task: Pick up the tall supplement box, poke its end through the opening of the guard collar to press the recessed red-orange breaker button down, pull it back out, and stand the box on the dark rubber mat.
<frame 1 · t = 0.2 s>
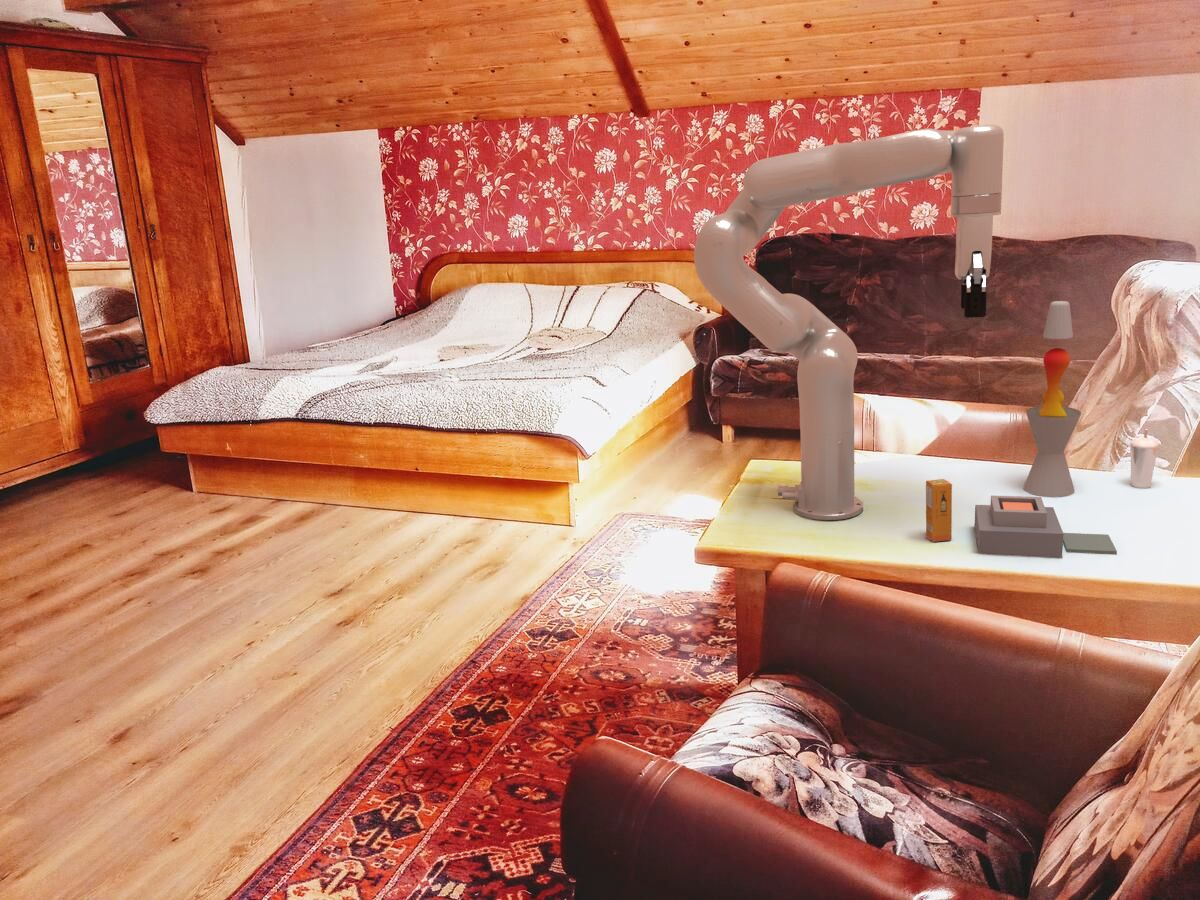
hand: (972, 312, 154), 36 cm above the table, tool pointing down, fingers open, 9 cm apart
rest mat: (1087, 544, 148), on the table
supplement box: (937, 539, 156), on the table
lava lamp: (1048, 490, 174), on the table
breaker button: (1017, 515, 150), point 4 cm above the table, slide at 0.0 cm
milkshake: (1140, 485, 172), on the table
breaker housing: (1016, 541, 152), on the table
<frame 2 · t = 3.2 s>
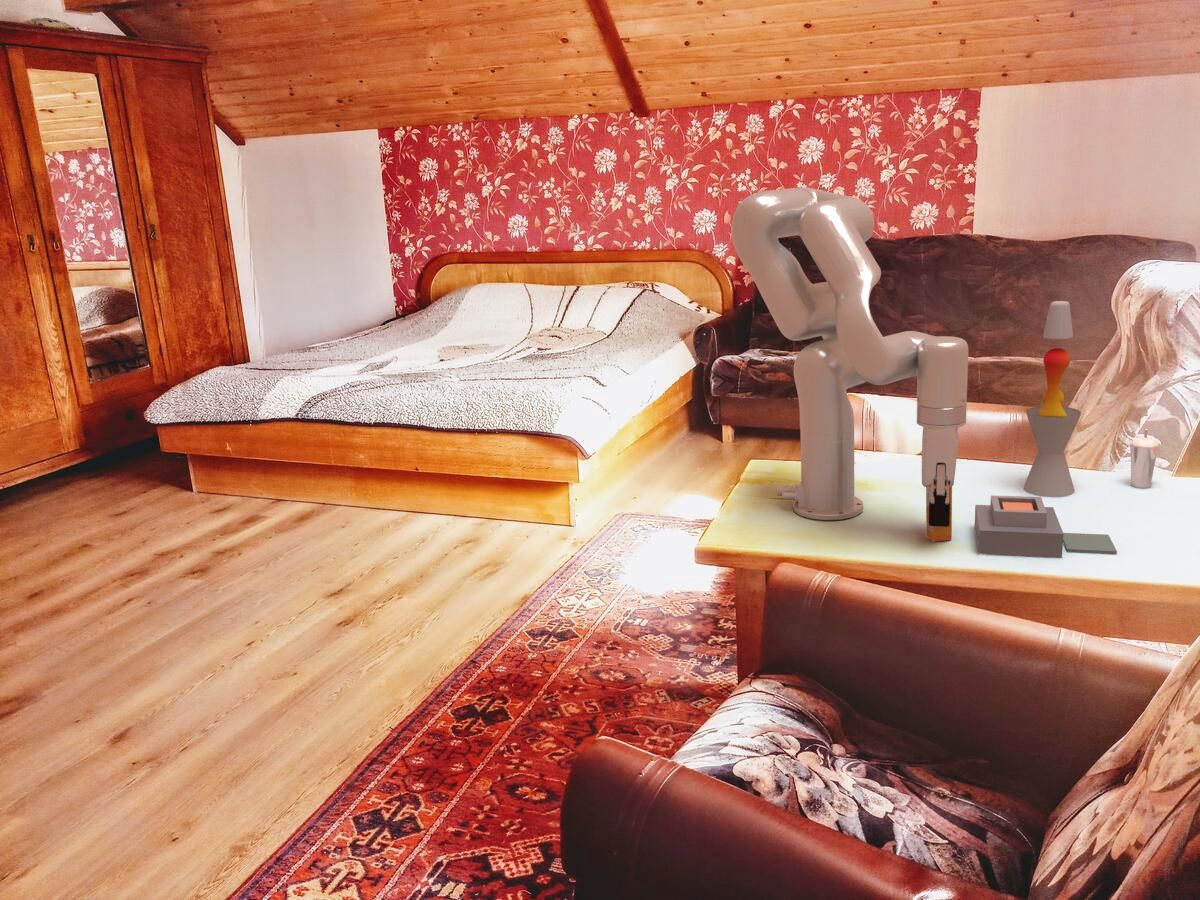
hand: (938, 519, 155), 3 cm above the table, tool pointing down, fingers closed on supplement box, 3 cm apart
supplement box: (938, 539, 156), on the table, touching gripper
everything else where it was.
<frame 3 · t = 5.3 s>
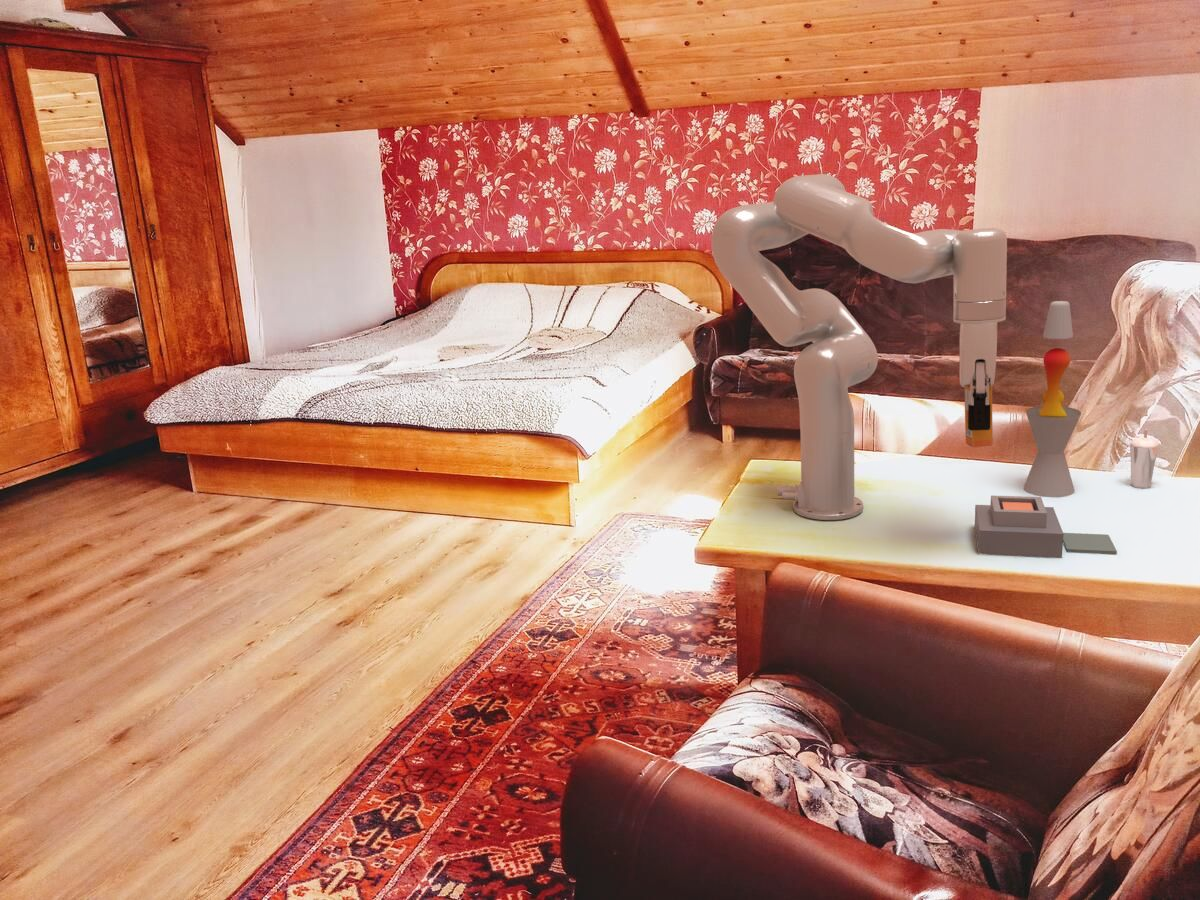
hand: (978, 424, 148), 20 cm above the table, tool pointing down, fingers closed on supplement box, 3 cm apart
supplement box: (978, 445, 149), point 16 cm above the table, touching gripper
everything else where it was.
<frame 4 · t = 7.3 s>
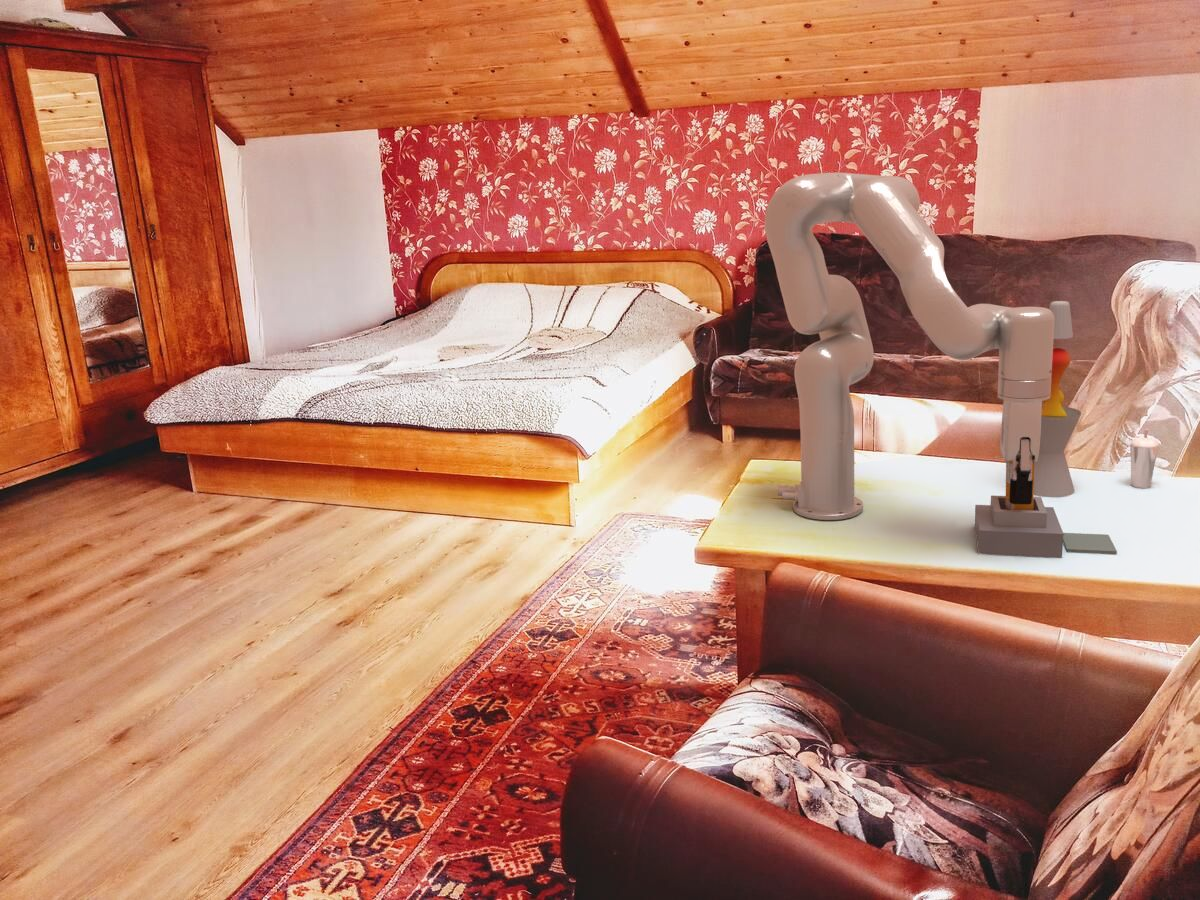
hand: (1018, 497, 149), 8 cm above the table, tool pointing down, fingers closed on supplement box, 3 cm apart
supplement box: (1018, 517, 150), point 4 cm above the table, touching breaker button, gripper
breaker button: (1016, 525, 151), point 3 cm above the table, slide at 1.7 cm, touching supplement box
everything else where it was.
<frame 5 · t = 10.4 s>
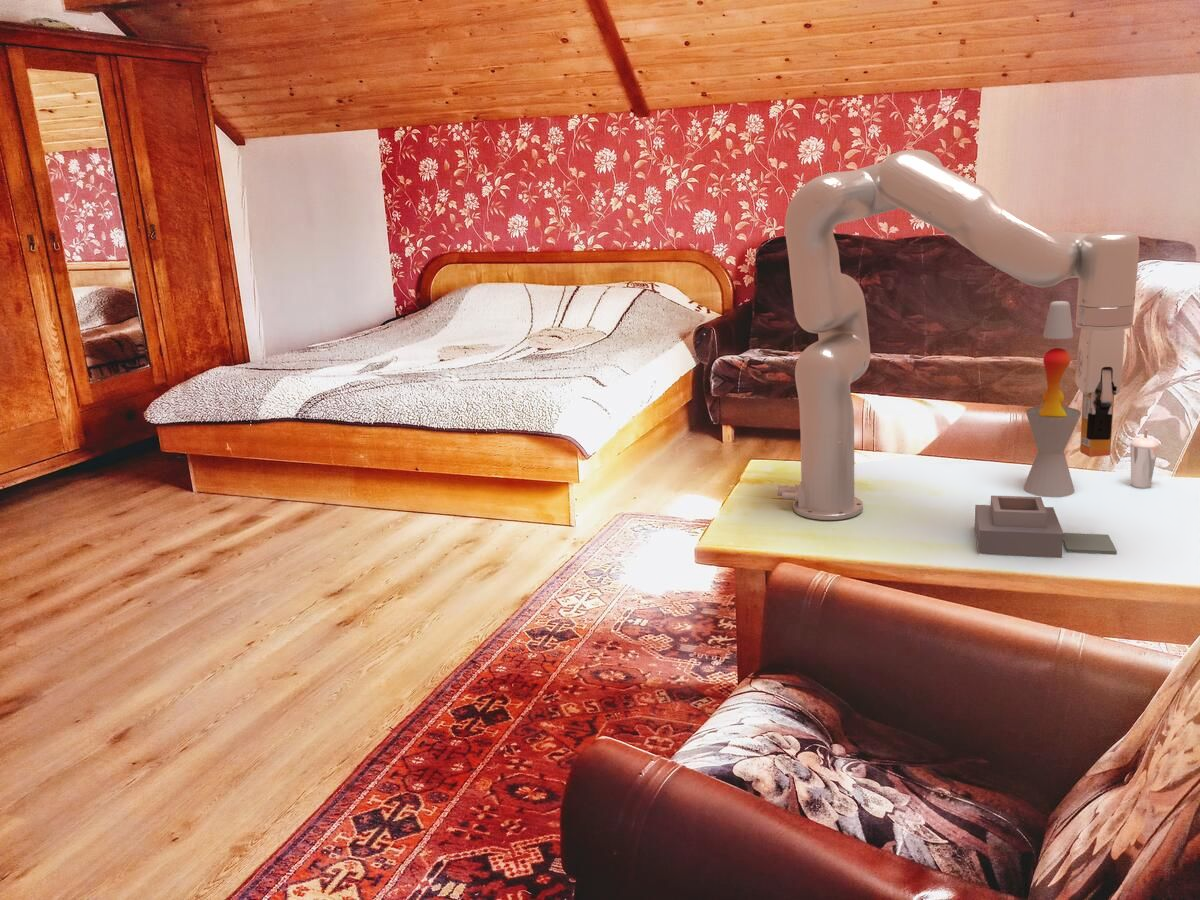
hand: (1095, 433, 143), 18 cm above the table, tool pointing down, fingers closed on supplement box, 3 cm apart
supplement box: (1093, 455, 144), point 15 cm above the table, touching gripper
breaker button: (1016, 525, 151), point 3 cm above the table, slide at 1.6 cm
everything else where it was.
when the fingers open (5 cm above the table, at t = 13.1 s): supplement box stays where it is, resting on rest mat.
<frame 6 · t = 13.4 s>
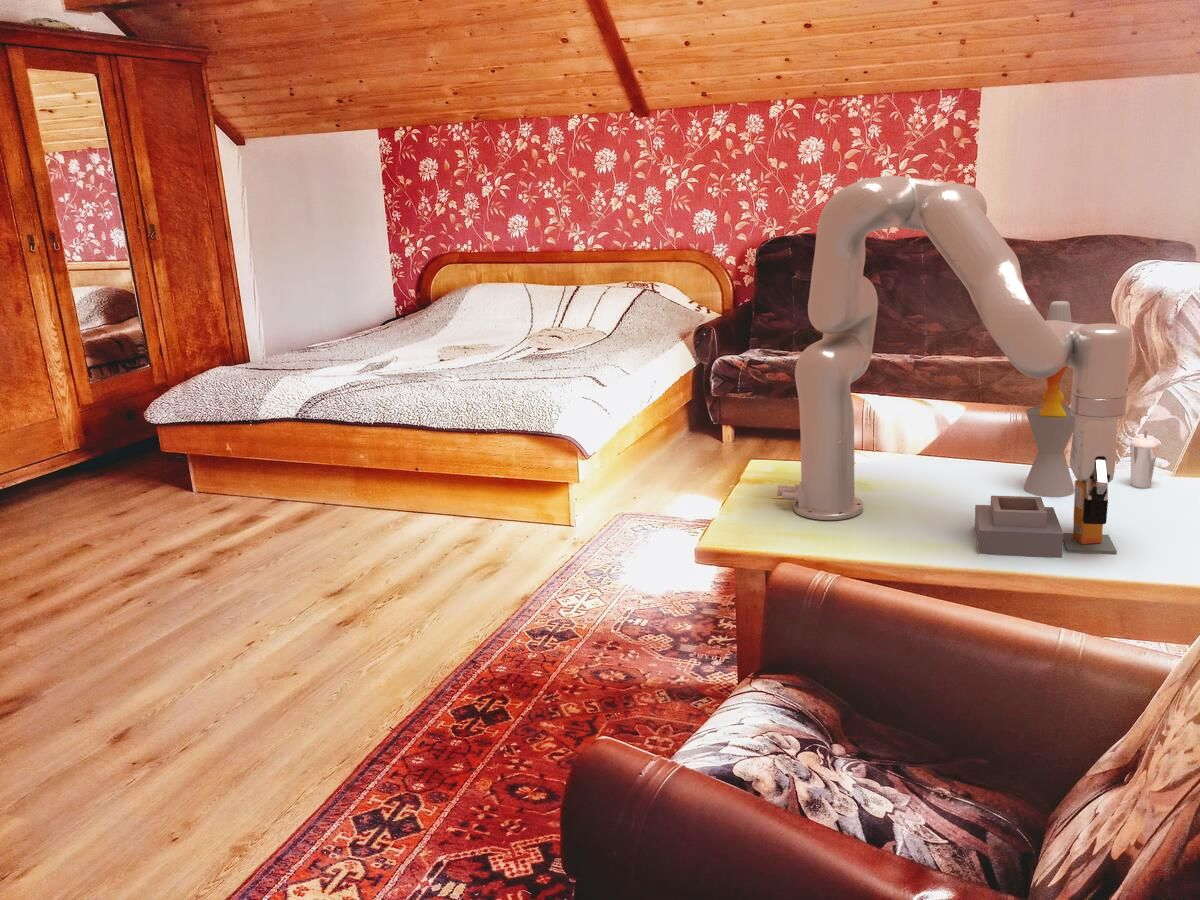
hand: (1090, 513, 147), 5 cm above the table, tool pointing down, fingers open, 7 cm apart
supplement box: (1086, 541, 149), resting on rest mat
everything else where it was.
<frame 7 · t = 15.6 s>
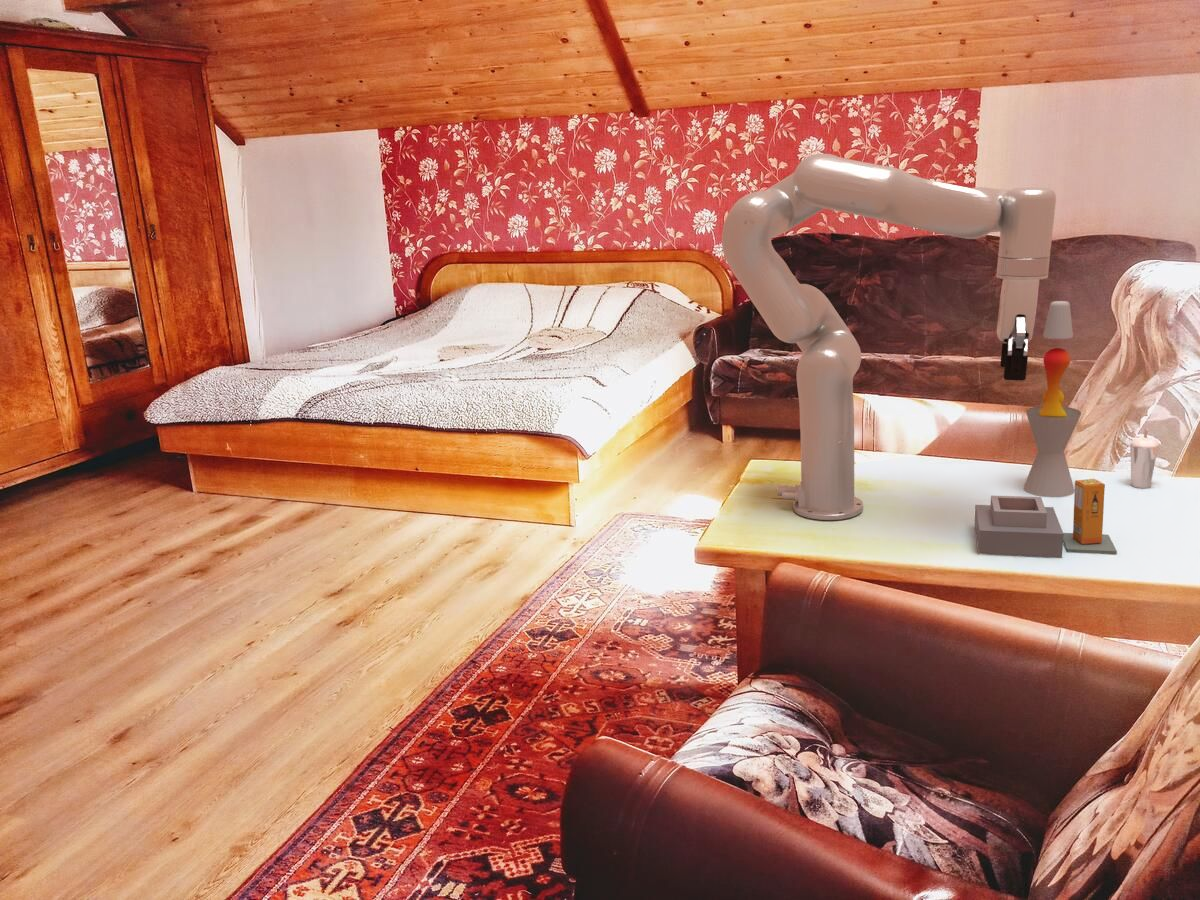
hand: (1012, 373, 153), 26 cm above the table, tool pointing down, fingers open, 9 cm apart
nothing on the table moved.
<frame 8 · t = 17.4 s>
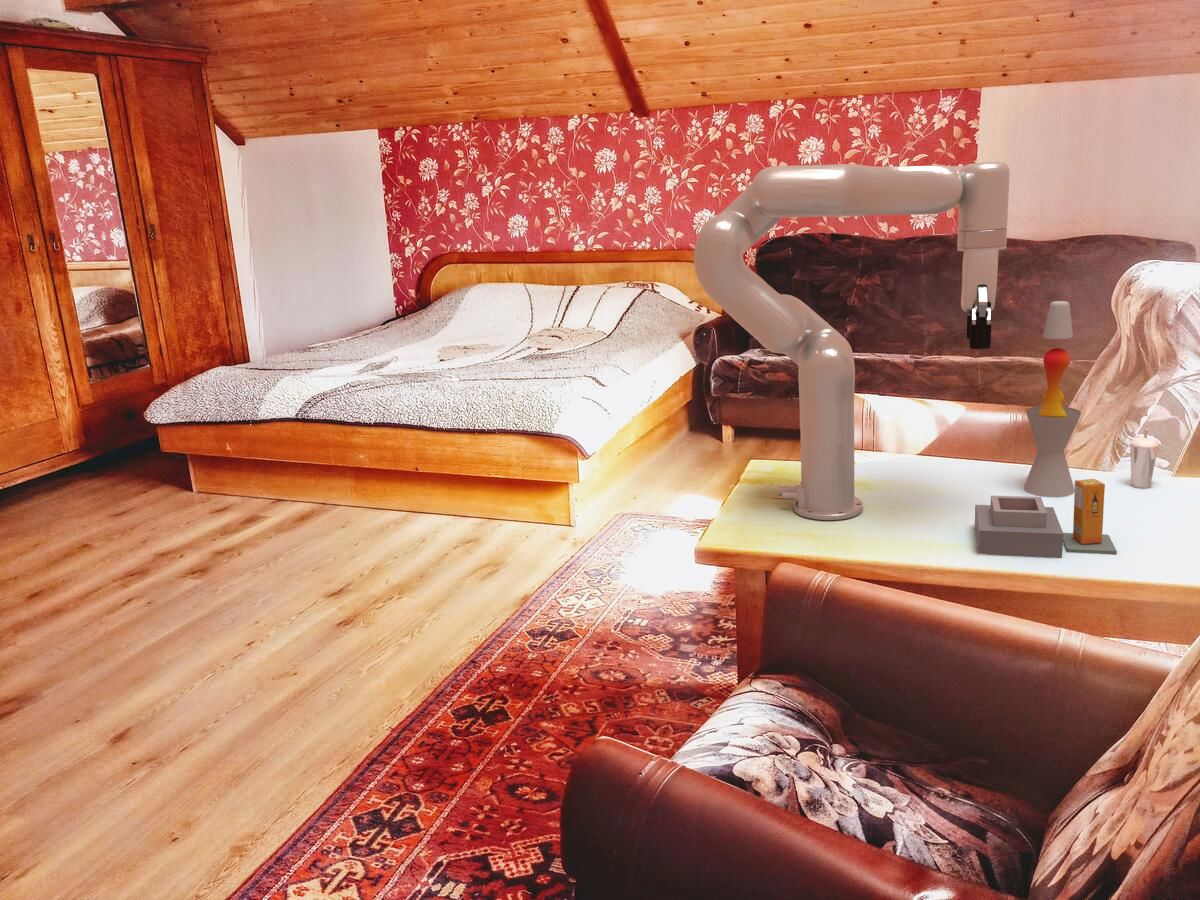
hand: (978, 343, 158), 30 cm above the table, tool pointing down, fingers open, 9 cm apart
nothing on the table moved.
at the end: breaker button slide at 1.6 cm; supplement box 0.4 cm off-centre on the rest mat, point 0.3 cm above the rest mat's base; supplement box tilted 0° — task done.
